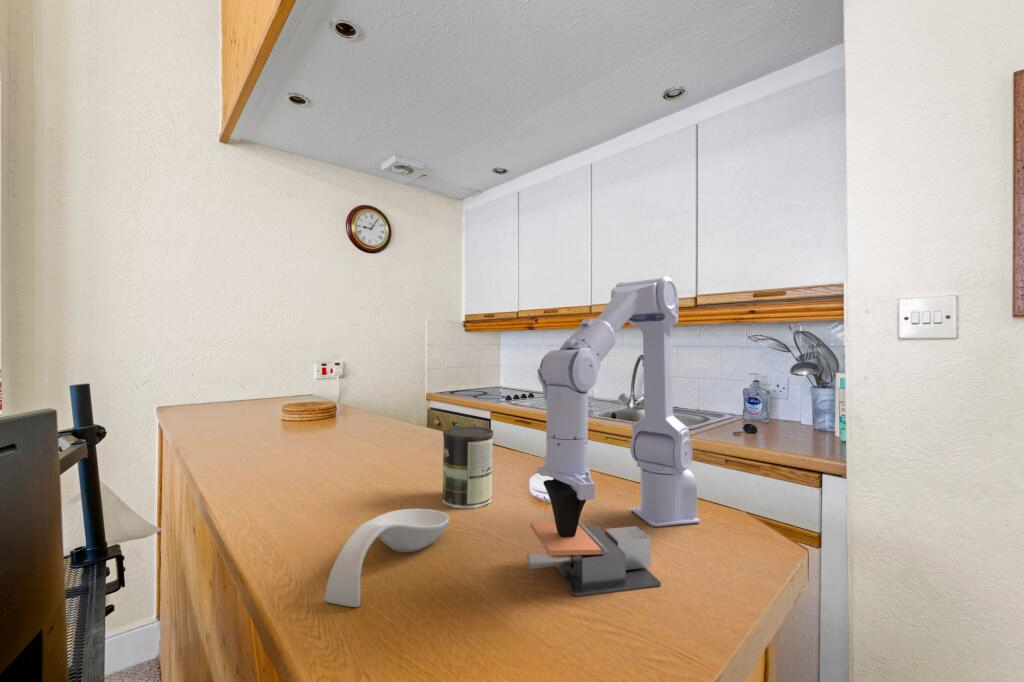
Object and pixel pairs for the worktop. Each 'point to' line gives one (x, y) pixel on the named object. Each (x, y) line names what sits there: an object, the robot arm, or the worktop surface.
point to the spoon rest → (394, 530)
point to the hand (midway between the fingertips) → (566, 535)
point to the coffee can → (467, 467)
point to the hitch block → (604, 571)
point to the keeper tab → (567, 540)
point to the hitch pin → (625, 538)
